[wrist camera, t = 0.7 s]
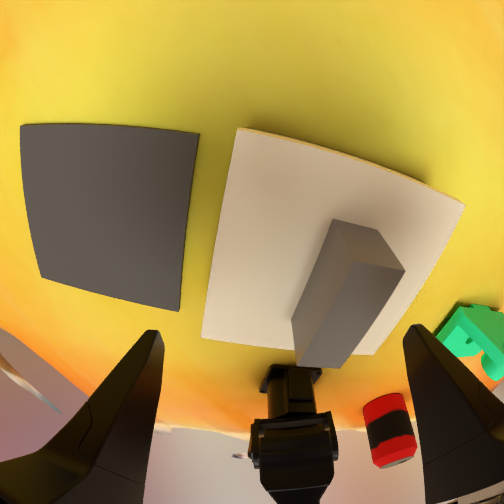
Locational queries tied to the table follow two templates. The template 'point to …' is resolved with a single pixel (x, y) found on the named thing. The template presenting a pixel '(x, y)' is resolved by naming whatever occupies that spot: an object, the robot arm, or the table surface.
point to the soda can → (389, 431)
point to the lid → (319, 249)
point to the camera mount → (477, 337)
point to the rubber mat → (109, 207)
